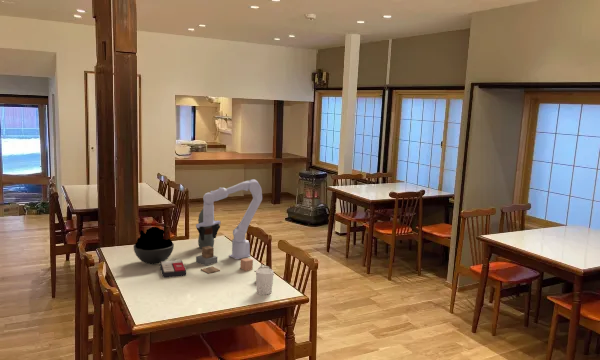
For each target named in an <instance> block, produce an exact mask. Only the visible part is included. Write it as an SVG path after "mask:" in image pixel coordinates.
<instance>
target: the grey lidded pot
mask: <svg viewBox="0 0 600 360" xmlns="http://www.w3.org/2000/svg"><path fill="white" fill-rule="evenodd" d="M260 268H268V269H271V265H269V266H268V265H263V264H262V263H260V266H259V267H258V269H260ZM254 272H255V273H256V270H254ZM274 275H275V274H274V273H273V276H274Z"/></svg>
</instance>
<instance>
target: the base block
mask: <svg viewBox="0 0 600 360" xmlns="http://www.w3.org/2000/svg"><path fill="white" fill-rule="evenodd" d="M195 263H197V264H199V265H202V266H209V265H213V264H217V263H218V256H217V255H214V256H213V257H211V258H204V257H202V254H200V255H196V256H195Z"/></svg>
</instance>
